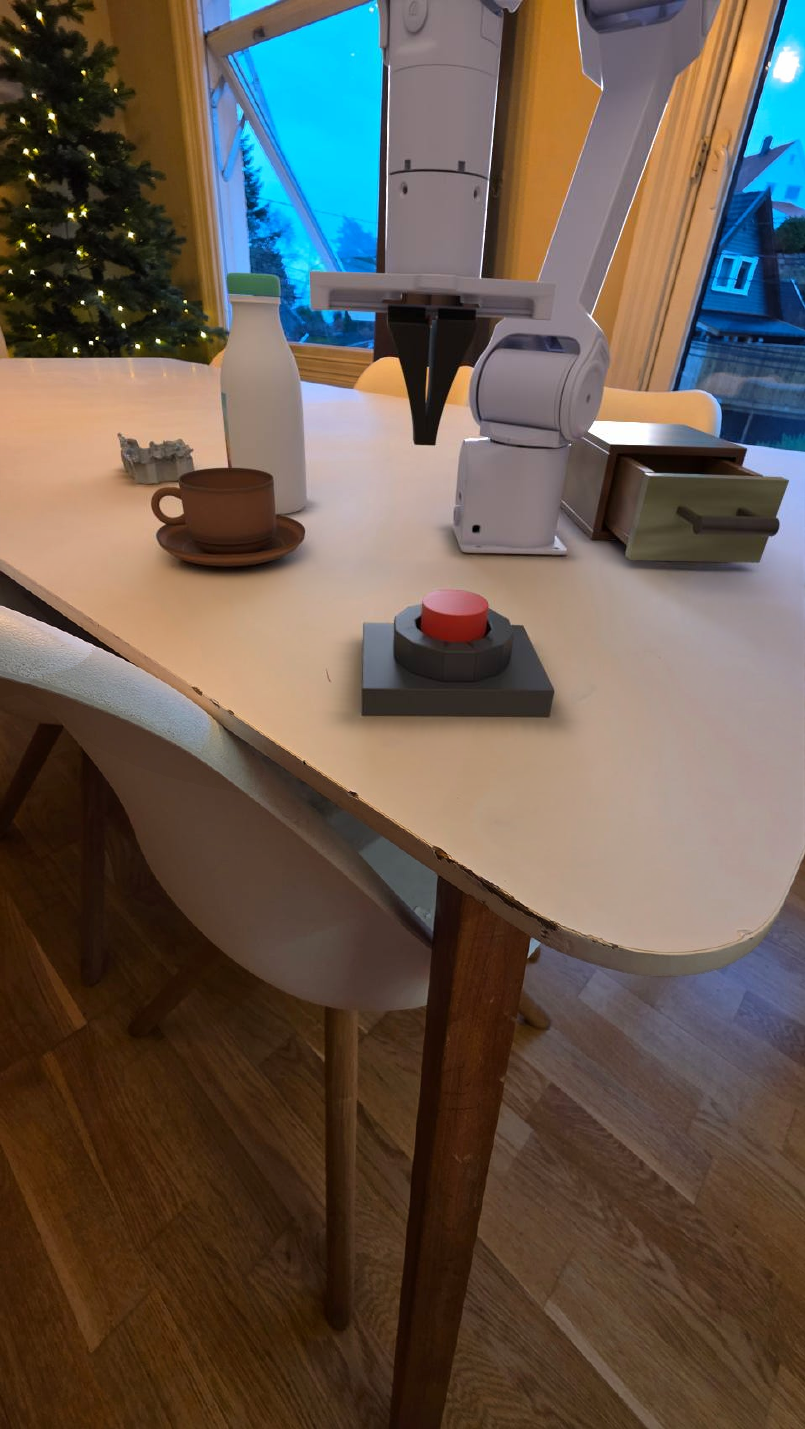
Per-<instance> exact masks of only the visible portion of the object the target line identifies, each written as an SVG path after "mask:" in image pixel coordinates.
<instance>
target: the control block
mask: <svg viewBox="0 0 805 1429" xmlns="http://www.w3.org/2000/svg"><path fill="white" fill-rule="evenodd" d="M421 612H422V603H420V604H415V605H411V606H407V607H406V608H405V609H403V610H402V611H400V612H399V613H397V615H395V616H394V617H393V618H394V619H393V622H363V623H362V654H361V655H362V658H361V660H362V661H361V716H362V717H440V718H441V717H442V718H443V717H446V718H447V717H448V718H449V717H450V718H451V717H456V718H550V716H551V711H552V705H553V701H554V697H555V689H554V686H553V684H552V682H551V680H550V678H549V676H548V674H547V672H546V670H545V667H544V666H543V664H542V662H541V659H540V657H539V656H538V653H537V651H536V650H535V647H534V644H533V643H532V641H531V639H530V637H529V634H528V633H527V630H526V629H525V626H524V625H523V624H511V622H510V619H509V618H508V617H506V616H504V615H502V614H501V613H498V612H496V611H495V610H494V609H491V608H488V616H487V624H486V633H485V636H484V638H480V639H477V640H473V641H469V642H447V641H443V640H439V639H435V638H431V637H428V636H427V635H425V634H424V633H422V632H421Z"/></svg>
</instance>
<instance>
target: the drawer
mask: <svg viewBox="0 0 805 1429" xmlns="http://www.w3.org/2000/svg"><path fill="white" fill-rule="evenodd" d="M789 482H790V480H789V479H788V478H785V477H783V476H767V475H765V476H764V474H761V473H759V472H756V471H754V470H752V469H749V468H747V467H745V466H743V465H742V466H740V465H738V464H735V463H733V462H731V461H728V460H726V459H724V458H722V457H707V456H676V455H646V454H617V458H616V463H615V467H614V472H613V477H612V481H611V486H610V491H609V496H608V500H607V505H606V510H605V514H604V519H603V524H604V525H605V526H606V527H608V528H609V529H610V530H611V531H612V532H613V533H614V534H615V535H616V536H617V537H618V538H619V539H620V540H619V541H620V542H623V544H624V545H625V546H626V549H625V554H624V556H625V557H626V558H627V559H628V560H629V561H656V562H657V561H660V562H662V561H663V562H700V563H701V562H703V563H704V562H707V563H712V562H713V563H745V564H746V563H749V564H751V563H752V564H760V562H761V560H762V557H763V554H764V552H765V549H766V547H767V543H768V540H769V537H772V538H773V537H774V536H776V535H777V534H778V532H779V530H780V520H779V518H778V517H777V515H778V514H779V510H780V507H781V504H782V501H783V499H784V496H785V494H786V491H787V488H788V486H789Z"/></svg>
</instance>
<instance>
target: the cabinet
mask: <svg viewBox="0 0 805 1429" xmlns="http://www.w3.org/2000/svg"><path fill="white" fill-rule="evenodd" d="M747 452H748V448H747V447H744V446H742V445H739V444H736V443H733V442H731V441H728V440H727V439H724V438H721V437H718V436H715V435H713V434H710V433H708V432H705V431H703V430H700V429H697V428H695V427H691V426H689V425H687V424H682V423H681V424H677V423H676V424H675V423H654V422H651V423H650V422H625V421H599V420H598V421H596V420H595V422H594V424H593V425H592V427H591V428H590V430H589V431H588V432H587V433H586V434H585V435H584V436H583V437H582V438H581V439H579V441H578V442H576V443H572V444H571V446H570V452H569V458H568V464H567V469H566V475H565V481H564V487H563V493H562V498H561V504H560V509H562V511H564V513H565V514H566V515H567V516H568V517H569V518H570V519H571V520H572V521H573V522H574V523H575V524H576V526H578V527H579V529H580V530H581V531H582V532H584V534H585V535H586V536H587V537H588V538H589V539H590V540H591V541H621V540H620V539H619V538H618V537H617V536H616V535H615V534H614V533H613V532H612V531H611V530H610V529H609V528H608V527H606V526H605V525H604V524H603V519H604V514H605V510H606V505H607V500H608V496H609V491H610V486H611V481H612V477H613V472H614V467H615V463H616V458H617V454H646V455H676V456H707V457H722V458H724V459H726V460H728V461H731V462H733V463H735V464H738V465H740V466H742V467H743V466H744V462H745V458H746V455H747Z"/></svg>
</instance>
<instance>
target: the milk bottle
mask: <svg viewBox="0 0 805 1429" xmlns="http://www.w3.org/2000/svg"><path fill="white" fill-rule="evenodd" d="M226 289H227V294H228V302H229V303H230V305H231V323H230V324H231V325H230V330H229V334H228V338H227V342H226V346H225V348H224V352H223V355H222V360H221V364H220V377H219V378H220V381H219V383H220V399H221V400H220V401H221V411H222V420H223V430H224V431H223V432H224V441H225V449H226V460H227V468H247V469H255V470H260V471H264V472H267V473H269V474H271V475H272V476H273V479H274V495H275V513H276V514H277V515H283V514H285V515H286V514H291V513H295V512H298V511H301V510H302V509H304V508H305V507H306V505H307V502H308V489H307V485H308V484H307V464H306V461H307V460H306V442H305V441H306V440H305V424H304V423H305V422H304V406H303V405H304V404H303V403H304V402H303V392H302V390H303V389H302V382H301V376H300V371H299V368H298V365H297V362H296V359H295V356H294V354H293V352H292V350H291V347H290V345H289V343H288V339H287V337H286V334H285V331H284V329H283V325H282V322H281V317H280V305H281V304H282V302H281V280H280V277H279V276H278V275H275V274H269V273H268V274H267V273H255V272H253V273H252V272H228V273H227V274H226Z"/></svg>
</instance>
